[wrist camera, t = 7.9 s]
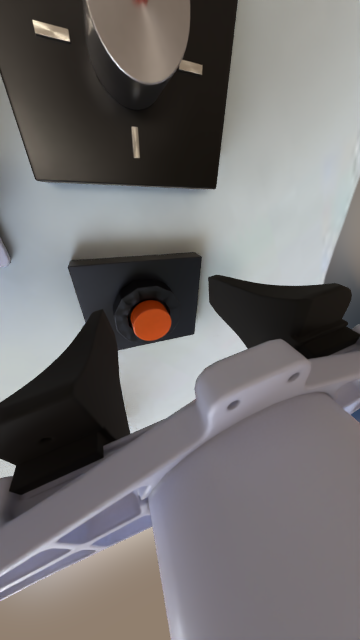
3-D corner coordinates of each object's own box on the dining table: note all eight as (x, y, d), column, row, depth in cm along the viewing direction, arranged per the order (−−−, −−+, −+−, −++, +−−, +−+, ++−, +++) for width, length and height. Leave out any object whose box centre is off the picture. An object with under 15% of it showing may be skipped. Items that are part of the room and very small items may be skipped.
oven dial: (166, 115, 11) (190, 90, 8) (95, 103, 10) (94, 69, 7) (166, -5, 9) (198, -96, 6) (73, -41, 8) (60, -173, 5)
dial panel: (46, 182, 13) (34, 180, 11) (-67, -189, 7) (-155, -394, 4) (199, 189, 17) (217, 189, 14) (218, -50, 10) (254, -121, 8)
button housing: (95, 345, 22) (95, 367, 19) (69, 260, 16) (64, 274, 14) (189, 326, 26) (200, 343, 23) (195, 252, 20) (210, 261, 17)
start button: (132, 333, 19) (135, 344, 18) (128, 302, 17) (130, 312, 16) (166, 327, 20) (171, 336, 19) (166, 297, 18) (171, 305, 17)
